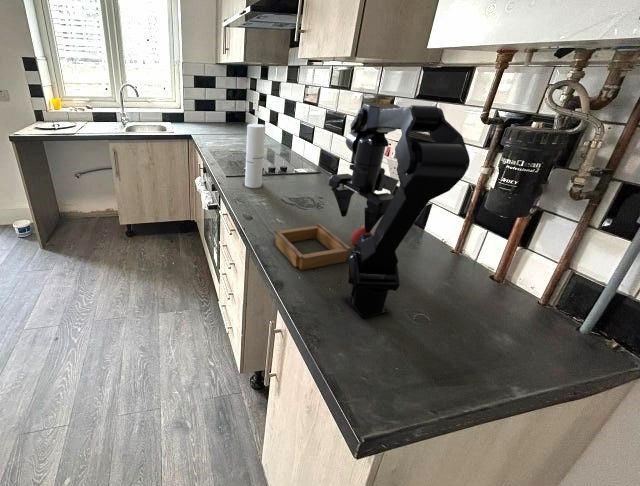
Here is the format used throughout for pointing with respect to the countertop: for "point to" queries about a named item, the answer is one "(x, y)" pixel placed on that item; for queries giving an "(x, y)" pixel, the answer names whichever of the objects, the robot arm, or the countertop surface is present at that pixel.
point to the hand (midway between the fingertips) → (355, 224)
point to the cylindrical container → (254, 155)
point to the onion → (358, 235)
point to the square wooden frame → (311, 260)
